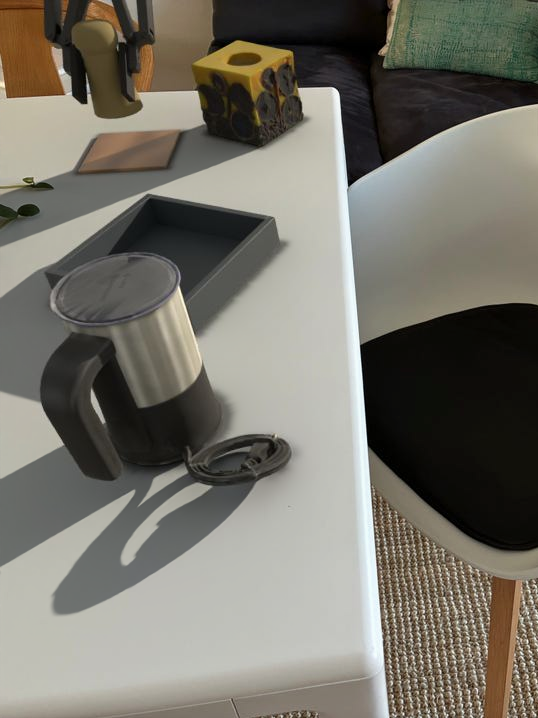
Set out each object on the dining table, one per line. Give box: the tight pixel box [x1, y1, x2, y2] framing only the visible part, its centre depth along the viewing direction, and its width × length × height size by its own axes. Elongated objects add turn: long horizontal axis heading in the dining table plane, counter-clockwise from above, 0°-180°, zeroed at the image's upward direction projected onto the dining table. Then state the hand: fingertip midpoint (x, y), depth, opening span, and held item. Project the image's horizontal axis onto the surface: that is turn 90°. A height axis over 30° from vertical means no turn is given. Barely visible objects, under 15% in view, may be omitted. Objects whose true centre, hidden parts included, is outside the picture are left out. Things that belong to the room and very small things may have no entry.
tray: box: [43, 193, 282, 335], centre depth 83 cm, size 17×17×4 cm
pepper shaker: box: [71, 18, 144, 120], centre depth 98 cm, size 6×6×11 cm
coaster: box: [77, 129, 181, 174], centre depth 105 cm, size 11×11×1 cm
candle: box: [190, 40, 305, 147], centre depth 108 cm, size 10×10×10 cm
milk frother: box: [39, 252, 292, 487], centre depth 60 cm, size 14×16×15 cm
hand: (104, 98), depth 97 cm, fingers closed on pepper shaker, 5 cm apart
